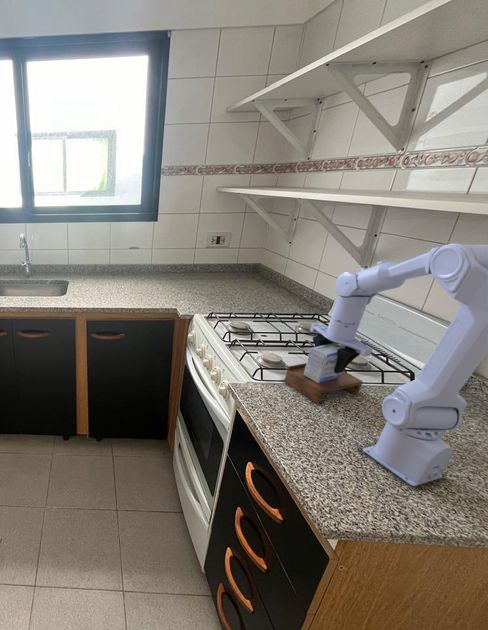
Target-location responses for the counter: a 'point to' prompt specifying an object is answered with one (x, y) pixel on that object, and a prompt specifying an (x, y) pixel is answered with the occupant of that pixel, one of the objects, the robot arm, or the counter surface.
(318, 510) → the counter surface
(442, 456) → the robot arm
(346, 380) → the wooden display riser
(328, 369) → the medicine box
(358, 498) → the counter surface
